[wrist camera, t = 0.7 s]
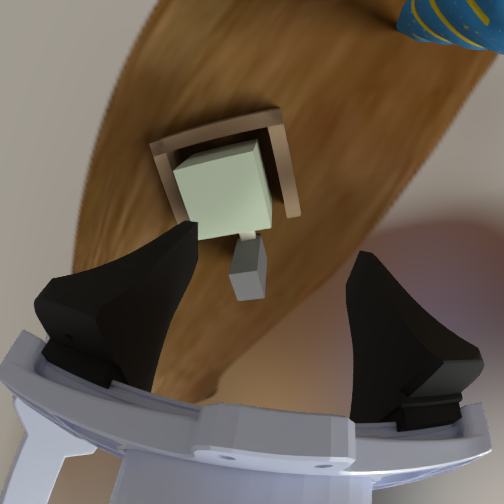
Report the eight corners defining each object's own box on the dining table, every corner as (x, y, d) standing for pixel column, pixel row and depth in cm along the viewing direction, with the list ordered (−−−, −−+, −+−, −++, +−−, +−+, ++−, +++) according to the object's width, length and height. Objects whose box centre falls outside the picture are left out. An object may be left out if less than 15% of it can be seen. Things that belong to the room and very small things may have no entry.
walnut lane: (161, 137, 19) (148, 143, 17) (279, 106, 17) (280, 108, 15) (190, 222, 23) (182, 236, 21) (298, 202, 21) (301, 215, 19)
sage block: (192, 154, 20) (170, 173, 16) (257, 138, 19) (252, 153, 15) (228, 265, 25) (218, 303, 21) (284, 256, 24) (284, 295, 20)
